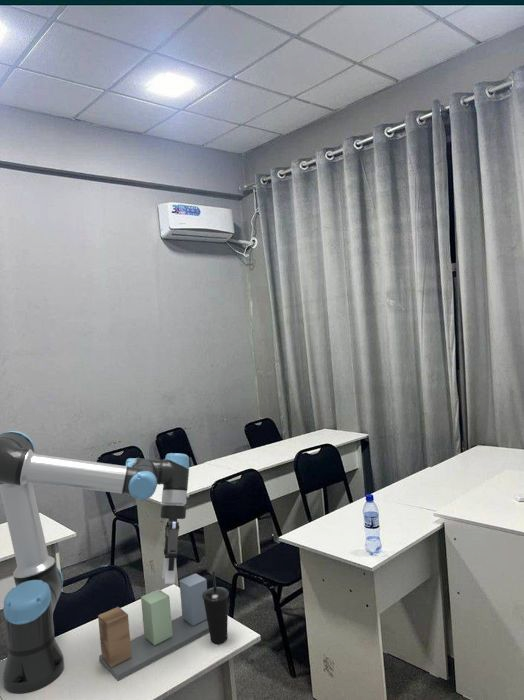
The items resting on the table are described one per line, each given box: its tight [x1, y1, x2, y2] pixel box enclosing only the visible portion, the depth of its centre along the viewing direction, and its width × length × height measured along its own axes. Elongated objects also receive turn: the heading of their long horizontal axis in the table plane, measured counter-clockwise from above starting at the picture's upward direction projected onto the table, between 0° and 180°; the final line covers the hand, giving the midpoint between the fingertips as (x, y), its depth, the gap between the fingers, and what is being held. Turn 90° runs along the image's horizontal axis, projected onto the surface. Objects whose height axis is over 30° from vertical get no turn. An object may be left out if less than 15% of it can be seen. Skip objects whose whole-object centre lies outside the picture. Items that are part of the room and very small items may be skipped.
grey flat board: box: [98, 615, 210, 681], centre depth 150 cm, size 12×32×2 cm, turn 130°
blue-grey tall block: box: [178, 573, 208, 626], centre depth 159 cm, size 6×6×12 cm
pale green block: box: [140, 588, 173, 645], centre depth 151 cm, size 6×6×12 cm
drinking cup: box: [202, 571, 230, 645], centre depth 150 cm, size 8×8×20 cm
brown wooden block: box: [97, 606, 132, 667], centre depth 142 cm, size 6×6×12 cm
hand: (167, 581), depth 151 cm, fingers open, 13 cm apart
